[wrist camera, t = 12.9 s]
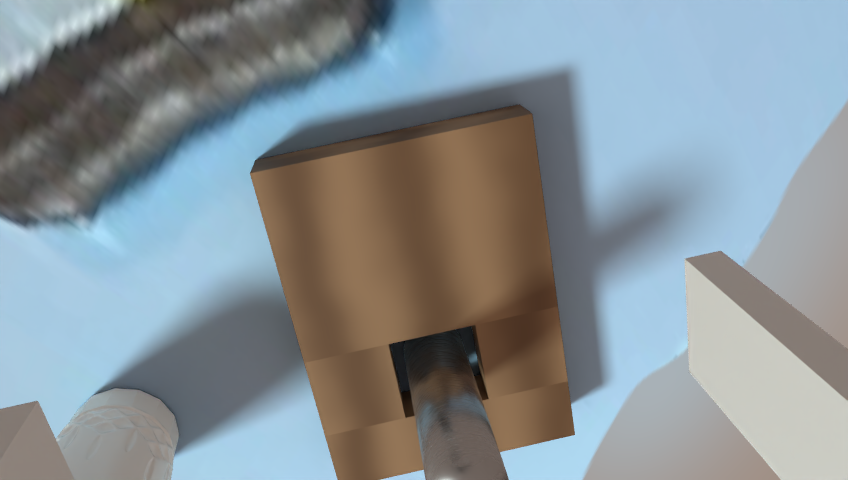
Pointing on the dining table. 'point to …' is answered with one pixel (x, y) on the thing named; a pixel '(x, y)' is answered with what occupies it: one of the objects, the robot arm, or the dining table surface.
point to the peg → (450, 411)
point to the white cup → (120, 438)
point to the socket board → (419, 278)
